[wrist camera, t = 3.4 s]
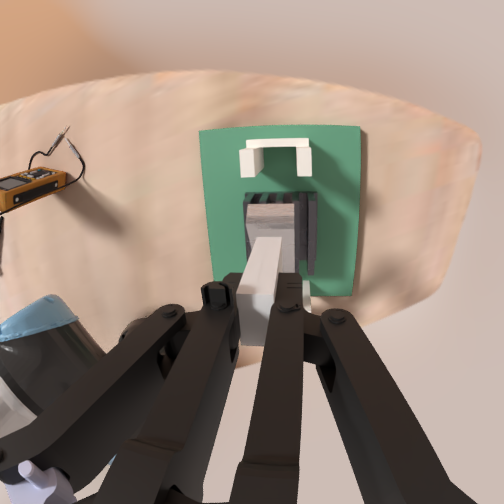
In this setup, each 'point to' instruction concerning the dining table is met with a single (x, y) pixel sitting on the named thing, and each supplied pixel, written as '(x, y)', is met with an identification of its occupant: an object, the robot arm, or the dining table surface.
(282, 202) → the heat sink
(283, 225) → the clamp bar
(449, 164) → the dining table surface
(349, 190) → the circuit board
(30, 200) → the multimeter
